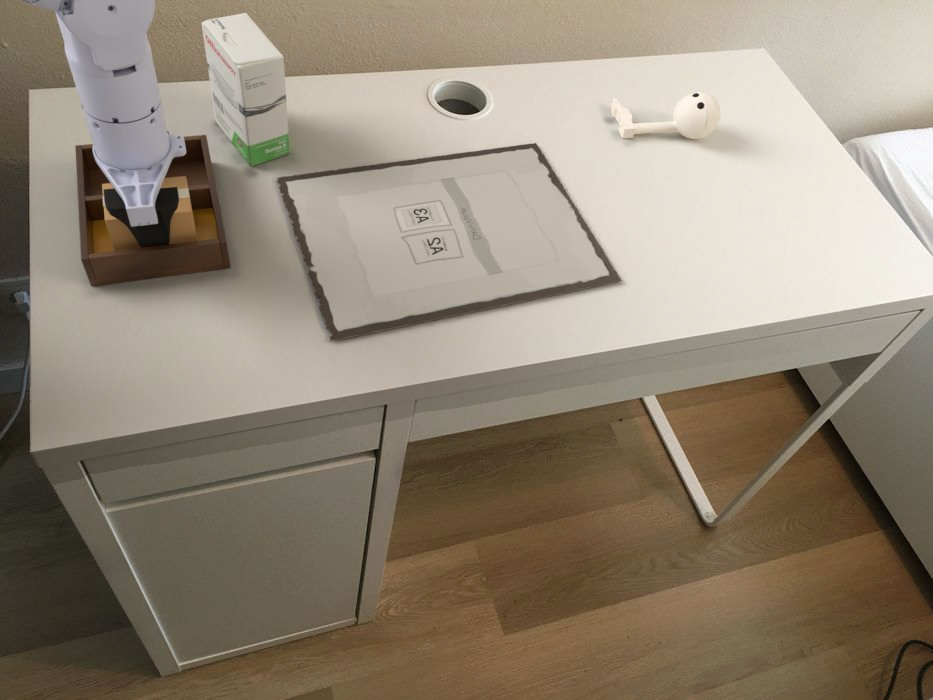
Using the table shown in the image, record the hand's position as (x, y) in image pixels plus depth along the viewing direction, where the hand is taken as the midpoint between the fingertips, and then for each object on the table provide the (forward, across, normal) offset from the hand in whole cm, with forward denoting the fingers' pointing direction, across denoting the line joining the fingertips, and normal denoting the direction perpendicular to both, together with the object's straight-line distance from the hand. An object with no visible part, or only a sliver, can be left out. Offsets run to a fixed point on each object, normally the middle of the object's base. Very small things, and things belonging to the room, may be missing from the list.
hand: (153, 227), depth 69 cm
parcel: (+1, 0, 0) cm, 1 cm away
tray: (+2, +4, 0) cm, 4 cm away
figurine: (+3, +10, -59) cm, 60 cm away
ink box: (+3, +14, -11) cm, 18 cm away
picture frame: (+2, -3, -28) cm, 28 cm away
